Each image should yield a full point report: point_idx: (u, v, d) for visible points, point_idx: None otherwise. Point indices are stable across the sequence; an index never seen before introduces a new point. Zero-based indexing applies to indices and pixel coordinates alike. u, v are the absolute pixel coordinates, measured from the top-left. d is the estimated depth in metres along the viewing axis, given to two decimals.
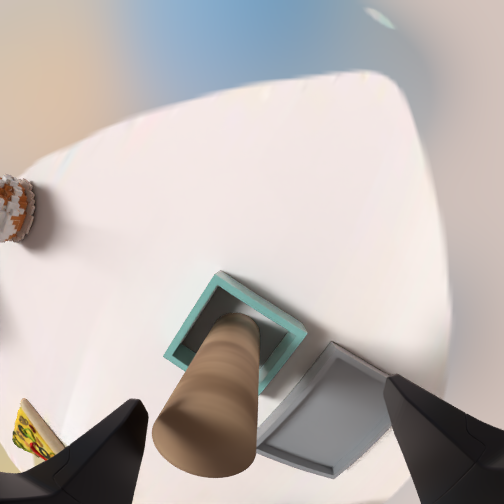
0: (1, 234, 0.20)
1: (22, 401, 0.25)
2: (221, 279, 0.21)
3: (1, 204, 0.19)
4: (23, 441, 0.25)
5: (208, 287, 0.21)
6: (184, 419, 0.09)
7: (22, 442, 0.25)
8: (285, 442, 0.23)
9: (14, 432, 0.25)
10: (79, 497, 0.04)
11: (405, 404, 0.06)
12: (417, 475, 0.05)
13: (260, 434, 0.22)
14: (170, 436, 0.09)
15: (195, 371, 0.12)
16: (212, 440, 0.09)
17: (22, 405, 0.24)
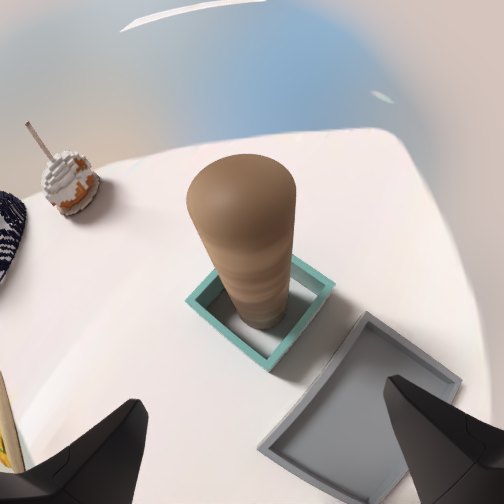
0: (62, 192, 0.28)
1: None
2: None
3: (74, 167, 0.28)
4: None
5: None
6: (232, 164, 0.11)
7: None
8: (307, 451, 0.17)
9: None
10: (79, 497, 0.04)
11: (405, 404, 0.06)
12: (417, 475, 0.05)
13: (277, 427, 0.17)
14: (209, 182, 0.11)
15: None
16: (253, 181, 0.11)
17: None
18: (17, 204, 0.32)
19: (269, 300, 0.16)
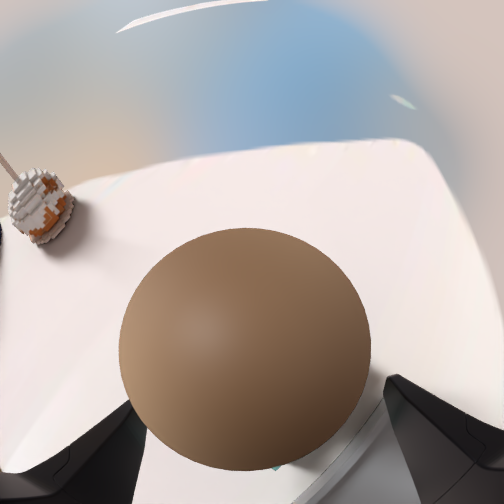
0: (28, 220, 0.21)
1: None
2: None
3: (42, 189, 0.22)
4: None
5: None
6: (217, 257, 0.05)
7: None
8: None
9: None
10: (79, 497, 0.04)
11: (405, 404, 0.06)
12: (417, 475, 0.05)
13: None
14: (166, 310, 0.05)
15: None
16: (269, 317, 0.04)
17: None
18: None
19: None
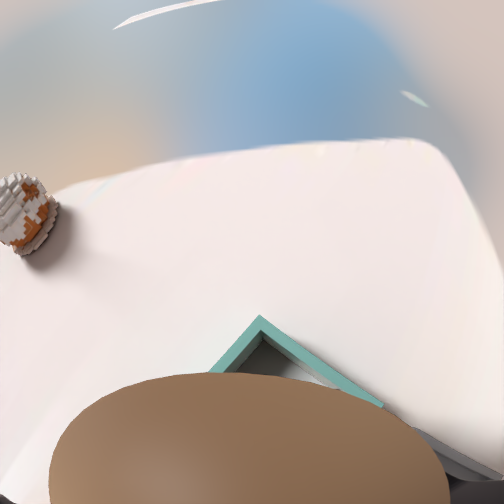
0: (8, 230, 0.18)
1: None
2: (267, 322, 0.14)
3: (21, 197, 0.18)
4: None
5: (247, 332, 0.14)
6: (182, 437, 0.02)
7: None
8: None
9: None
10: None
11: None
12: None
13: None
14: (105, 502, 0.01)
15: None
16: None
17: None
18: None
19: None
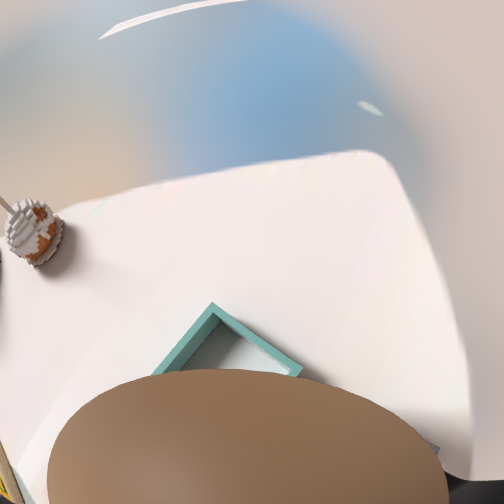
0: (24, 246, 0.24)
1: None
2: (217, 307, 0.21)
3: (33, 219, 0.24)
4: None
5: (204, 314, 0.21)
6: (180, 434, 0.02)
7: None
8: None
9: None
10: None
11: None
12: None
13: None
14: (102, 499, 0.01)
15: None
16: None
17: None
18: None
19: None
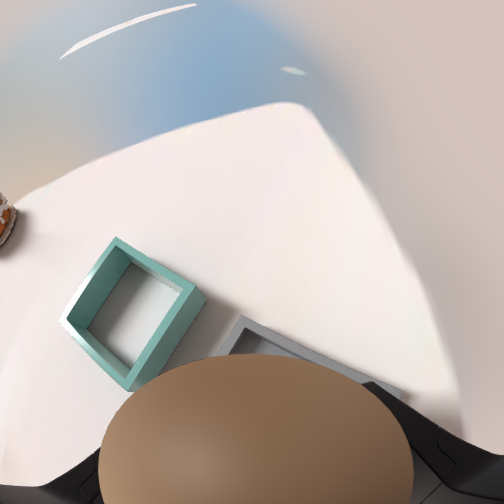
0: None
1: None
2: (119, 239, 0.20)
3: None
4: None
5: (108, 248, 0.20)
6: (217, 400, 0.03)
7: None
8: None
9: None
10: None
11: None
12: None
13: None
14: (151, 461, 0.03)
15: None
16: (291, 482, 0.02)
17: None
18: None
19: None
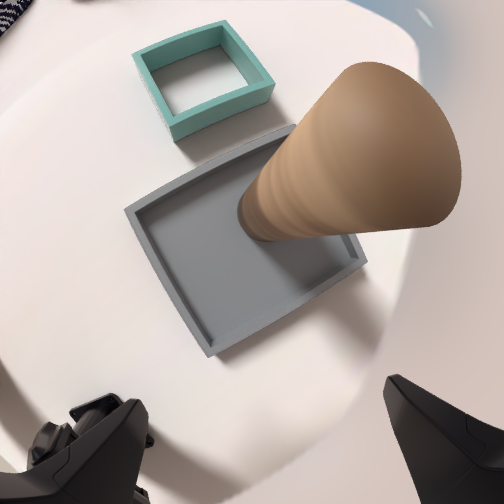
0: None
1: None
2: (227, 23, 0.17)
3: None
4: None
5: (213, 23, 0.17)
6: (411, 90, 0.05)
7: None
8: (172, 239, 0.19)
9: None
10: (79, 497, 0.04)
11: (405, 404, 0.06)
12: (417, 475, 0.05)
13: None
14: (377, 88, 0.05)
15: None
16: (426, 139, 0.05)
17: None
18: None
19: (296, 237, 0.13)
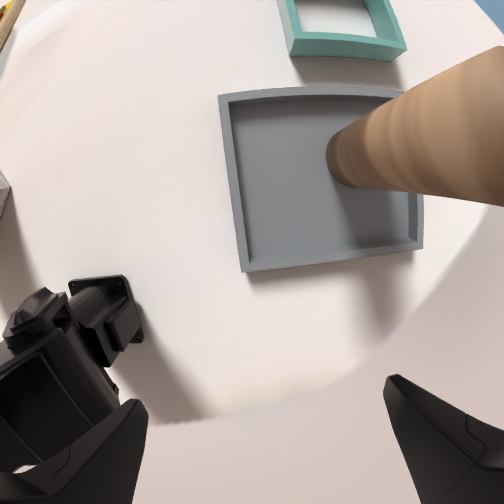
0: None
1: None
2: None
3: None
4: None
5: None
6: None
7: None
8: (254, 143, 0.17)
9: None
10: (79, 497, 0.04)
11: (405, 404, 0.06)
12: (417, 475, 0.05)
13: None
14: None
15: None
16: None
17: None
18: None
19: (384, 182, 0.11)
